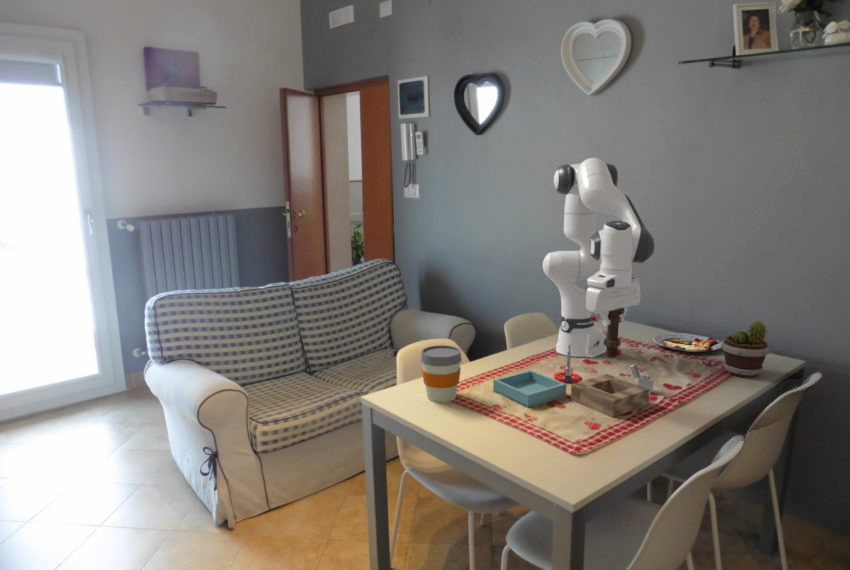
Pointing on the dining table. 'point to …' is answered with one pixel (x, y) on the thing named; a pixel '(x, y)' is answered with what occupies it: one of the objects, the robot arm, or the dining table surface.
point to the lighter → (642, 378)
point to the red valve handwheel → (568, 371)
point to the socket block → (610, 395)
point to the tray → (529, 388)
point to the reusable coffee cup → (441, 372)
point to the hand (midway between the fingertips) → (613, 323)
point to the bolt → (613, 333)
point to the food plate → (685, 345)
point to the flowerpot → (746, 351)
